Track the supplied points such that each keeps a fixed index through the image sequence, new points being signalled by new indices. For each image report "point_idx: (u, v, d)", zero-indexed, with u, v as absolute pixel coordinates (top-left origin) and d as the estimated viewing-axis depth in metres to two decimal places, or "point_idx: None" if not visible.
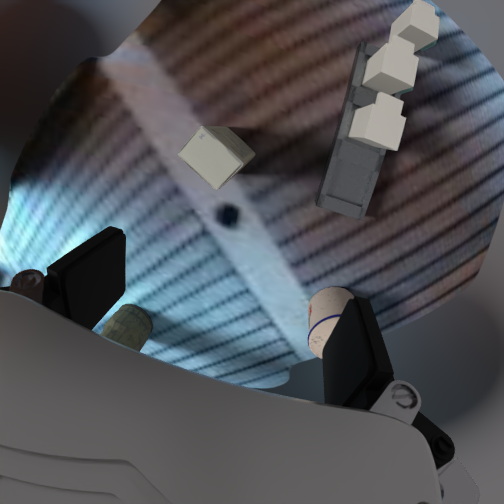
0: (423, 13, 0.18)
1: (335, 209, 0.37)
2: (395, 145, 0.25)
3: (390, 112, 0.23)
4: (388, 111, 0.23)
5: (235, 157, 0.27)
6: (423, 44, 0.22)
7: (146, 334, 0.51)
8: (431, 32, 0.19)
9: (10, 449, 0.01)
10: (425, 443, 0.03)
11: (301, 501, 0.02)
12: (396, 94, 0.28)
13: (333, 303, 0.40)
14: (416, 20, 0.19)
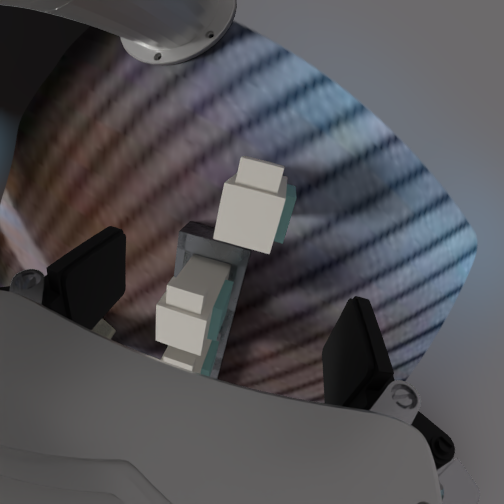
0: (246, 202, 0.18)
1: None
2: None
3: None
4: None
5: None
6: None
7: None
8: (257, 243, 0.19)
9: (10, 449, 0.01)
10: (425, 443, 0.03)
11: (301, 501, 0.02)
12: (231, 300, 0.28)
13: None
14: (227, 225, 0.18)
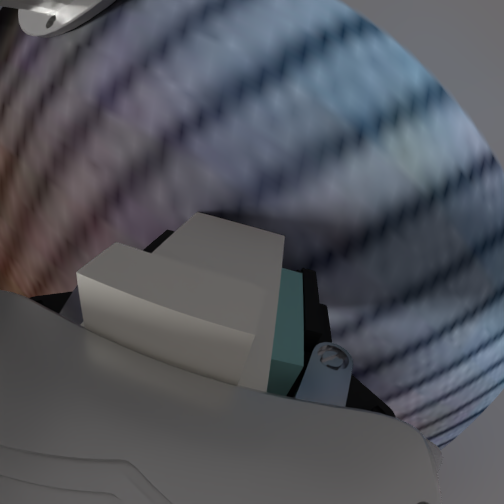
0: None
1: None
2: None
3: None
4: None
5: None
6: None
7: None
8: None
9: (10, 449, 0.01)
10: (425, 443, 0.03)
11: (301, 501, 0.02)
12: None
13: None
14: None
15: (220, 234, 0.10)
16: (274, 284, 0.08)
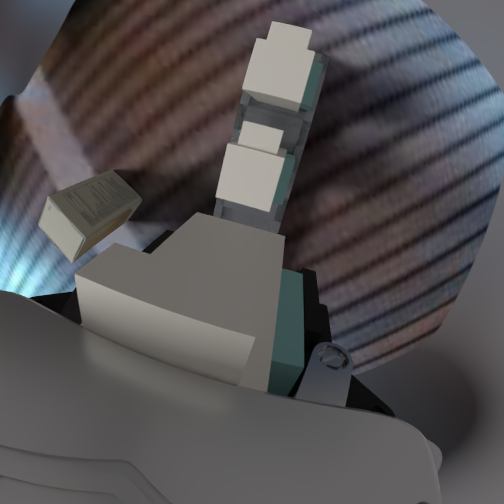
0: None
1: None
2: (266, 204, 0.19)
3: (256, 153, 0.18)
4: (253, 152, 0.18)
5: (77, 231, 0.21)
6: None
7: None
8: None
9: (10, 449, 0.01)
10: (425, 443, 0.03)
11: (301, 501, 0.02)
12: None
13: None
14: None
15: (220, 234, 0.10)
16: (274, 285, 0.08)
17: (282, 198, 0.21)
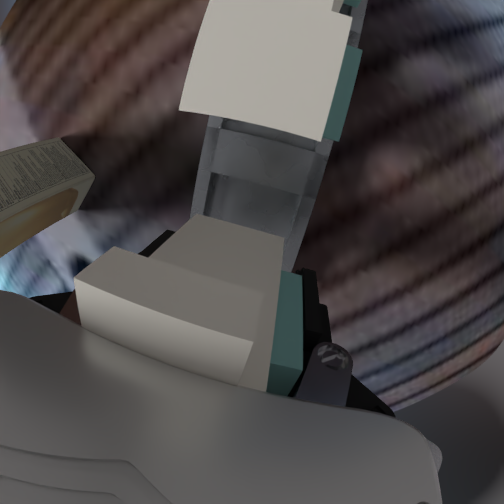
0: None
1: None
2: (313, 120, 0.06)
3: (282, 4, 0.05)
4: (273, 2, 0.05)
5: None
6: None
7: None
8: None
9: (10, 449, 0.01)
10: (425, 443, 0.03)
11: (301, 501, 0.02)
12: (353, 15, 0.10)
13: None
14: None
15: (219, 236, 0.10)
16: (273, 287, 0.08)
17: (339, 126, 0.08)
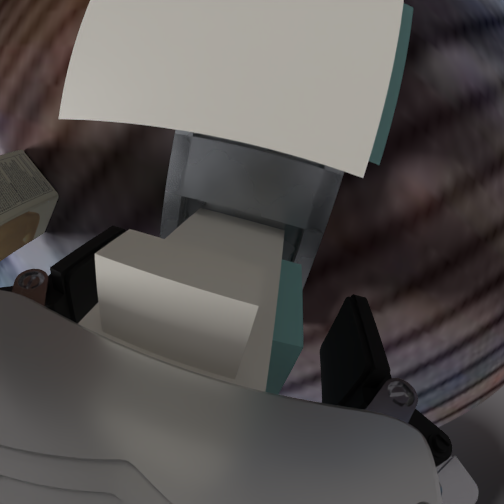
0: None
1: None
2: (347, 121, 0.02)
3: None
4: None
5: None
6: None
7: None
8: None
9: (10, 449, 0.01)
10: (425, 443, 0.03)
11: (301, 501, 0.02)
12: None
13: None
14: None
15: (223, 228, 0.11)
16: (274, 273, 0.09)
17: (381, 135, 0.04)
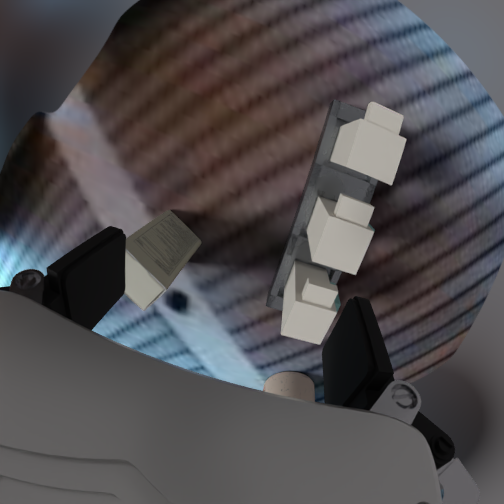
0: (309, 313, 0.24)
1: None
2: (354, 268, 0.22)
3: (352, 226, 0.21)
4: (349, 225, 0.21)
5: (157, 281, 0.24)
6: None
7: None
8: (312, 338, 0.25)
9: (10, 449, 0.01)
10: (425, 443, 0.03)
11: (301, 501, 0.02)
12: None
13: (284, 394, 0.36)
14: (293, 327, 0.25)
15: (308, 270, 0.30)
16: None
17: None
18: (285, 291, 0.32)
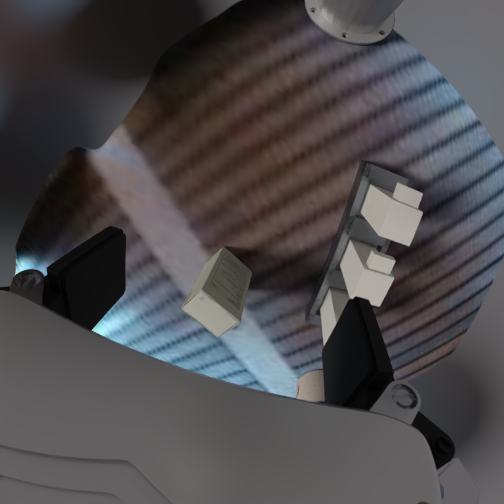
0: None
1: None
2: (379, 302, 0.29)
3: (379, 275, 0.28)
4: (377, 274, 0.28)
5: (233, 317, 0.31)
6: None
7: None
8: None
9: (10, 449, 0.01)
10: (425, 443, 0.03)
11: (301, 501, 0.02)
12: None
13: (317, 389, 0.45)
14: None
15: (340, 295, 0.38)
16: None
17: None
18: (322, 311, 0.39)
